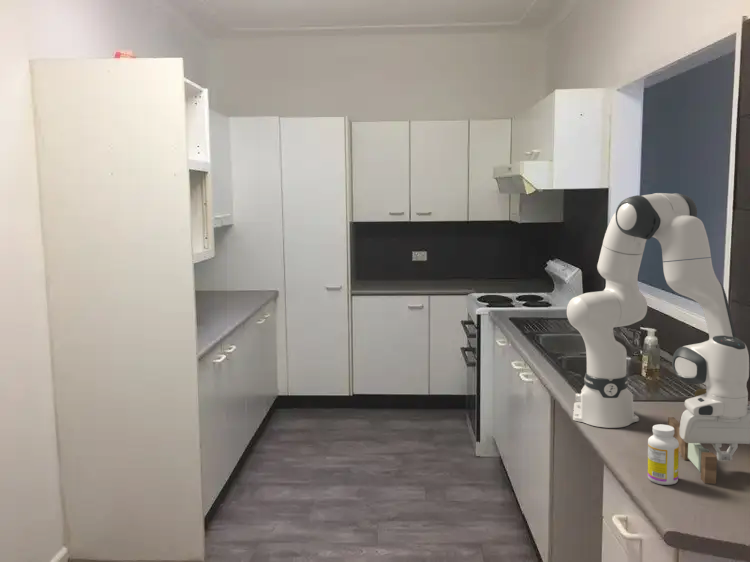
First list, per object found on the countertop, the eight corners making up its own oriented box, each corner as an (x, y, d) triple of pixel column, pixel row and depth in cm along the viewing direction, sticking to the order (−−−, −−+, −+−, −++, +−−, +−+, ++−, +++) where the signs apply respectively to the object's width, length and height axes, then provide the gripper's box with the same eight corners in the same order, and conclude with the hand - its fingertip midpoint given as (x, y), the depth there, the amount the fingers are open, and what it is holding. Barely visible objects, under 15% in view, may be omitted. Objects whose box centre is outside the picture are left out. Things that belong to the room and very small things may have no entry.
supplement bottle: (669, 473, 160) (671, 422, 158) (683, 485, 153) (684, 431, 152) (642, 474, 160) (643, 423, 158) (654, 486, 153) (656, 433, 152)
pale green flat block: (686, 457, 166) (687, 436, 166) (694, 457, 166) (695, 436, 165) (700, 472, 158) (700, 450, 157) (708, 472, 157) (709, 450, 157)
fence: (665, 438, 182) (666, 415, 181) (675, 438, 182) (675, 415, 181) (704, 483, 154) (705, 456, 153) (716, 483, 154) (716, 456, 153)
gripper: (766, 400, 161) (763, 455, 163) (677, 400, 163) (676, 454, 165) (779, 409, 154) (776, 465, 156) (687, 408, 157) (685, 464, 159)
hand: (724, 459), depth 161 cm, fingers closed
